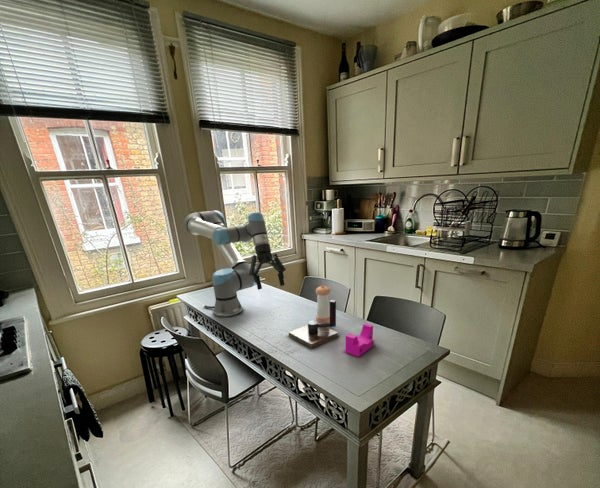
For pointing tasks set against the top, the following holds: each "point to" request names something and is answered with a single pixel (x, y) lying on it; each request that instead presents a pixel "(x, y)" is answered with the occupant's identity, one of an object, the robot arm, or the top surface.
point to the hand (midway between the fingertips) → (271, 287)
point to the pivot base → (313, 336)
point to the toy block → (360, 341)
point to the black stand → (315, 325)
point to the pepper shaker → (323, 305)
